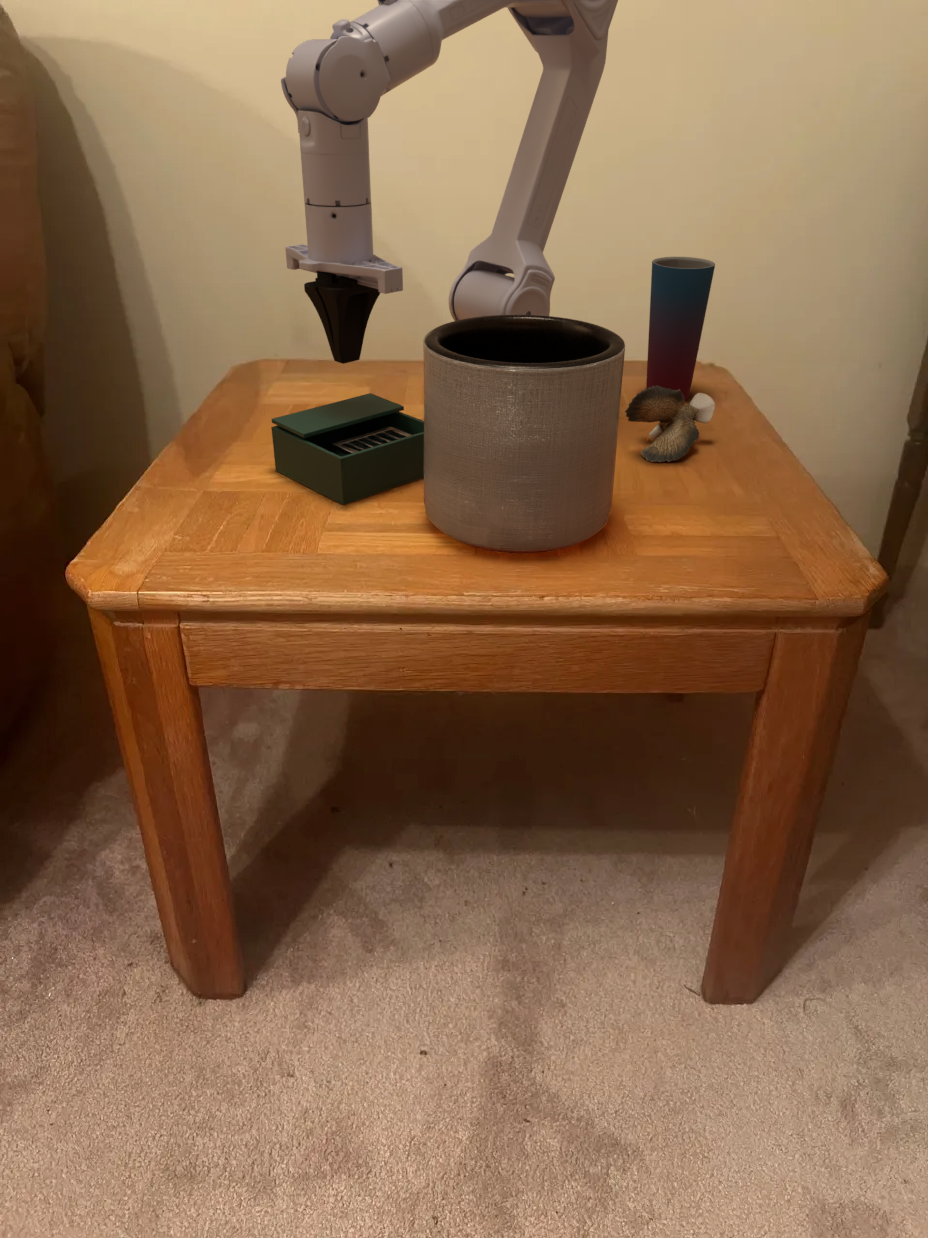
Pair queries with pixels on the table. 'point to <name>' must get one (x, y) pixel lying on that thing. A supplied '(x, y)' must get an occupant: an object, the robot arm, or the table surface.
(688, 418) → the mushroom cluster
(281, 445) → the green box
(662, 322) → the cup
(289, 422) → the lid
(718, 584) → the table surface
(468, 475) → the planter
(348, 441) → the rack
